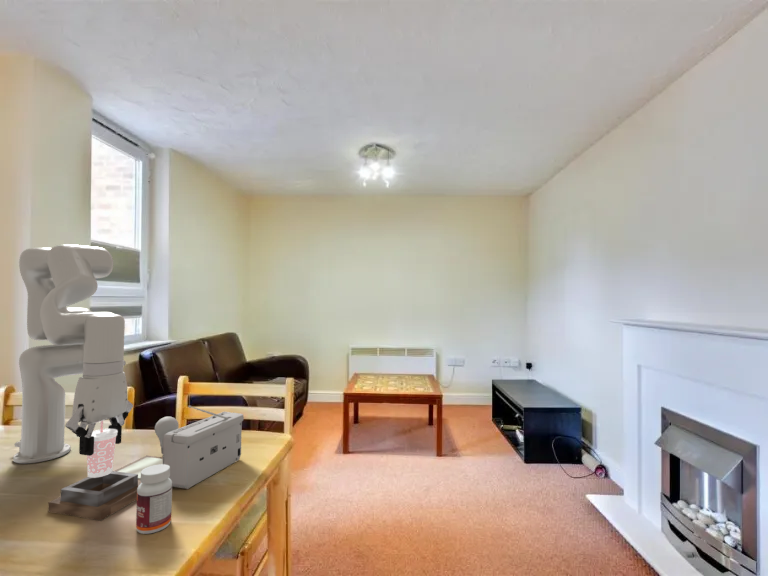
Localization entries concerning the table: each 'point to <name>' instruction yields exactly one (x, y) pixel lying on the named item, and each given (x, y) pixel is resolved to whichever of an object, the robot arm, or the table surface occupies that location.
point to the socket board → (102, 492)
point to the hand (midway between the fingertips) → (101, 447)
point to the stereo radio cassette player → (202, 448)
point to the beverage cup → (102, 452)
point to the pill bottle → (154, 499)
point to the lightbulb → (165, 428)
